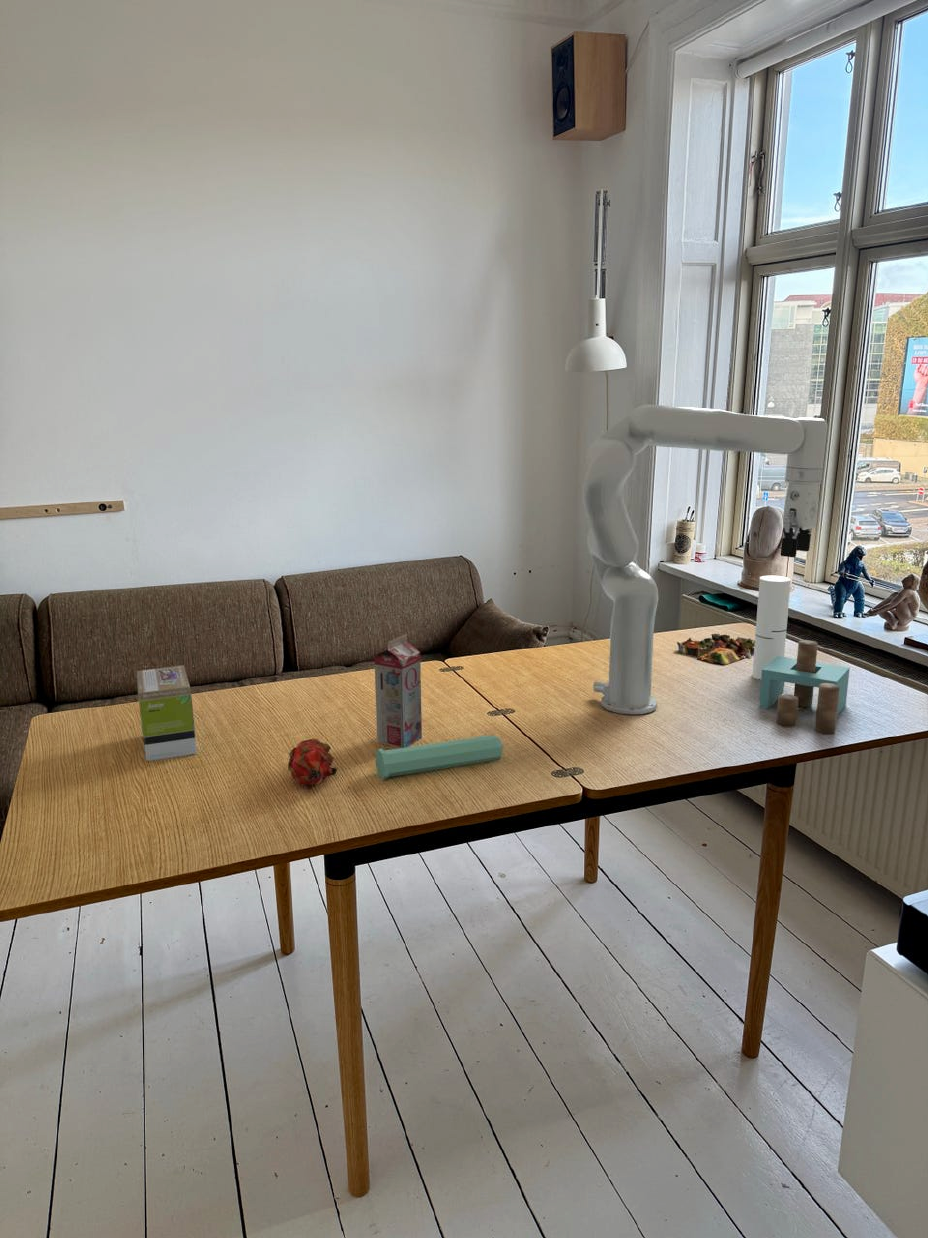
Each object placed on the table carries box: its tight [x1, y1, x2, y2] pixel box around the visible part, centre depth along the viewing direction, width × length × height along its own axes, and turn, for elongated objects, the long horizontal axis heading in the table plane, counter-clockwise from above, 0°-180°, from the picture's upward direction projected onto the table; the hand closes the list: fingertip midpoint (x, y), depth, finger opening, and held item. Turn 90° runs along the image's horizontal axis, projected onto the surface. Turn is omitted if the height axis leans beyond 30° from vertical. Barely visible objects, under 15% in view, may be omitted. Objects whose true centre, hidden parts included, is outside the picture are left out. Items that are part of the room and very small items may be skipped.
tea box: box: [136, 664, 198, 762], centre depth 189 cm, size 15×10×15 cm
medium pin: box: [814, 683, 840, 736], centre depth 194 cm, size 4×4×10 cm
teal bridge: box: [758, 656, 851, 717], centre depth 209 cm, size 16×12×9 cm
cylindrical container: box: [751, 574, 792, 680], centre depth 228 cm, size 7×7×25 cm
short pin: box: [775, 693, 799, 728], centre depth 199 cm, size 4×4×6 cm
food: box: [674, 633, 755, 666], centre depth 252 cm, size 22×19×4 cm
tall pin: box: [793, 639, 818, 710], centre depth 208 cm, size 4×4×15 cm
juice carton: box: [373, 633, 423, 749], centre depth 189 cm, size 7×7×22 cm
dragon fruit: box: [287, 738, 338, 790], centre depth 172 cm, size 8×8×12 cm
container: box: [375, 734, 504, 781], centre depth 179 cm, size 6×6×25 cm
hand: (794, 553), depth 206 cm, fingers open, 9 cm apart
